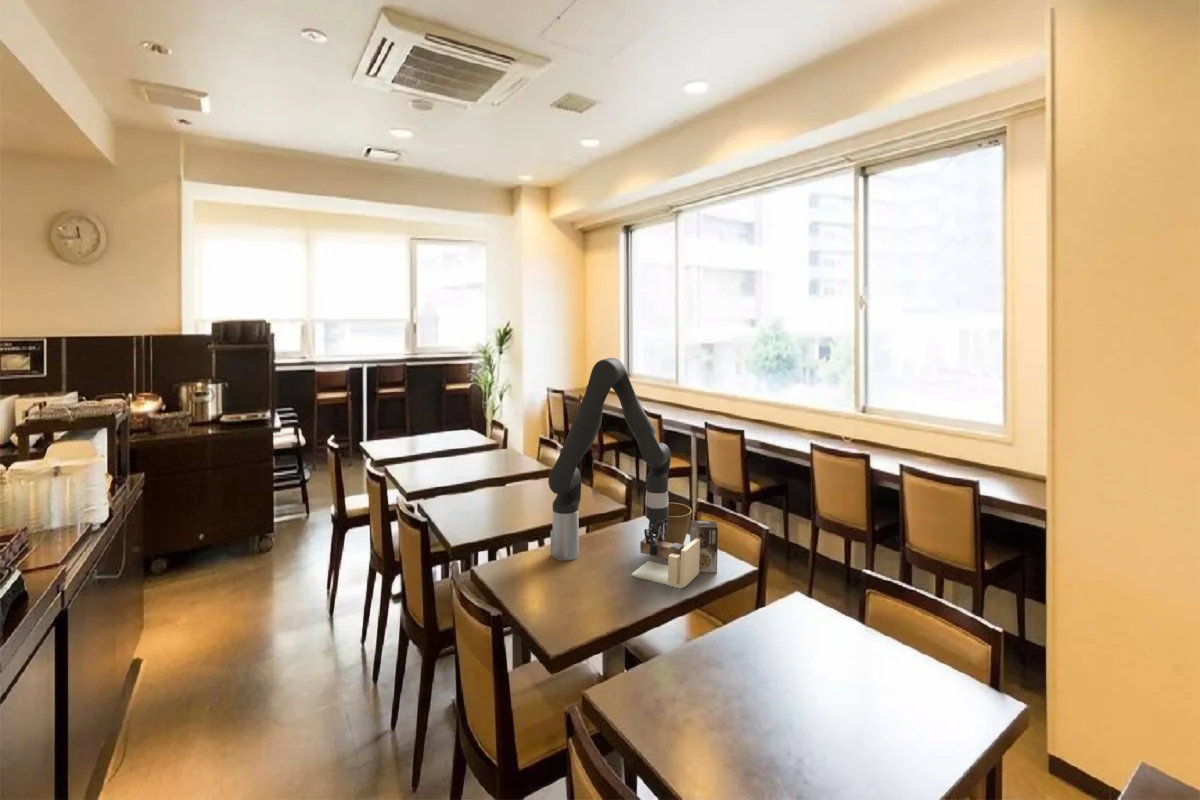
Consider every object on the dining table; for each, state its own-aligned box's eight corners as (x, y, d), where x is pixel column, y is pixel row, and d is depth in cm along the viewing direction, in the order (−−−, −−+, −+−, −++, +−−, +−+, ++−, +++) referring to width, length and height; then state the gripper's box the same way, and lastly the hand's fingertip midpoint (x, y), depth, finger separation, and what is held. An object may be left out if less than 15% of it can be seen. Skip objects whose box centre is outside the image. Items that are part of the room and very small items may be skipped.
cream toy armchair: (631, 575, 199) (632, 539, 197) (648, 563, 209) (648, 528, 207) (684, 589, 189) (685, 551, 187) (698, 575, 199) (700, 538, 197)
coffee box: (715, 565, 207) (717, 520, 205) (717, 573, 201) (718, 527, 199) (689, 564, 208) (690, 519, 206) (689, 572, 202) (691, 526, 200)
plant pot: (644, 545, 225) (645, 504, 223) (681, 541, 229) (682, 501, 226) (657, 560, 211) (658, 517, 208) (697, 557, 214) (698, 514, 212)
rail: (640, 552, 201) (640, 540, 200) (645, 548, 204) (645, 536, 203) (678, 561, 193) (678, 548, 193) (683, 557, 197) (683, 544, 196)
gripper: (656, 496, 205) (655, 544, 208) (636, 507, 193) (636, 558, 196) (676, 499, 201) (675, 548, 204) (657, 511, 189) (657, 563, 192)
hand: (656, 552), depth 200 cm, fingers closed on rail, 4 cm apart
